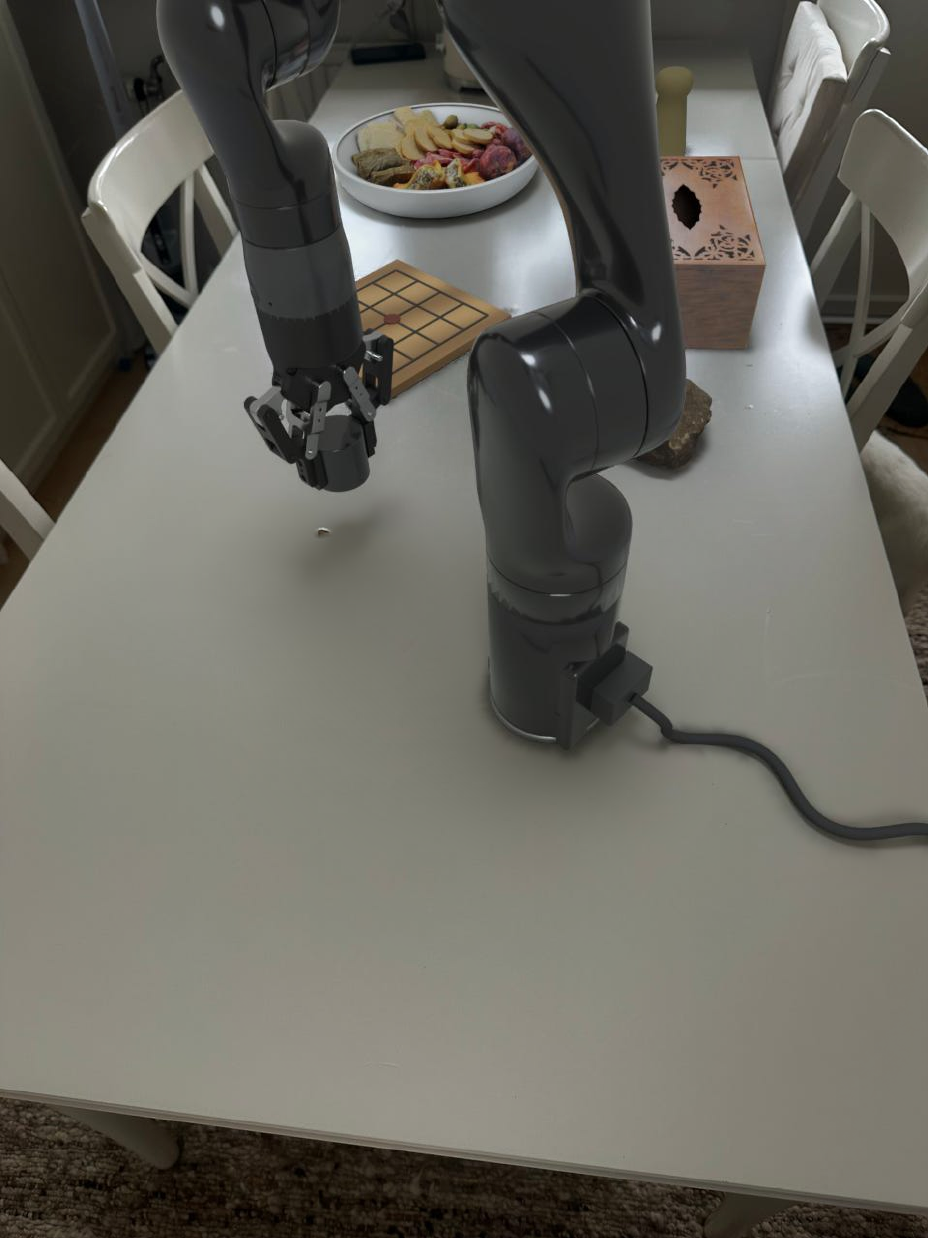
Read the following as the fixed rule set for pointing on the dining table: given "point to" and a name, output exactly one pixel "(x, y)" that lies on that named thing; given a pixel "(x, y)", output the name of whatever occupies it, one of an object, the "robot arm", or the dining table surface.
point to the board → (421, 320)
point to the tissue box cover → (713, 249)
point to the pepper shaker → (673, 109)
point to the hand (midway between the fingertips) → (341, 467)
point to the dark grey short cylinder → (343, 453)
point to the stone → (683, 431)
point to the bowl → (433, 160)
